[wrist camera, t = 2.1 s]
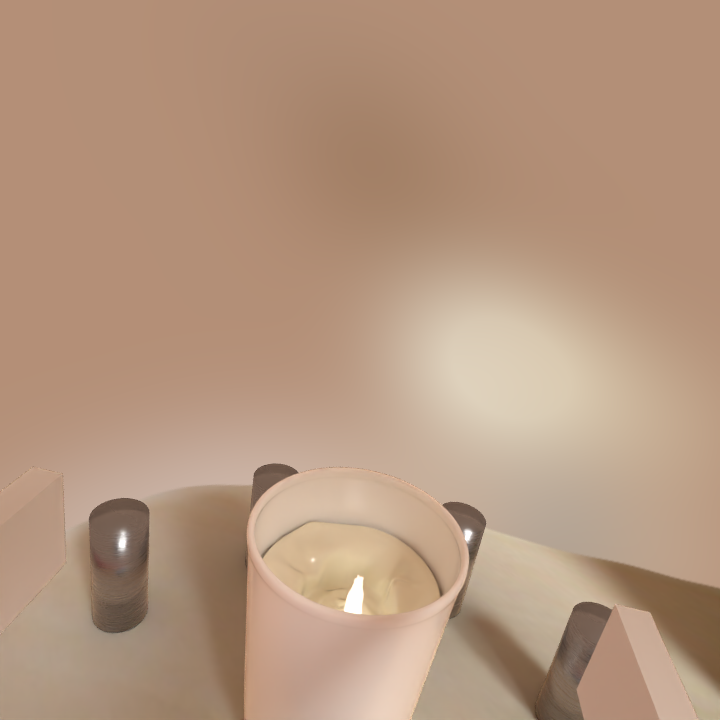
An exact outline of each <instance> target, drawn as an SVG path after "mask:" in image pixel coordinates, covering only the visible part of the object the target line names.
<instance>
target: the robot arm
mask: <svg viewBox="0 0 720 720" xmlns="http://www.w3.org/2000/svg"><path fill="white" fill-rule="evenodd" d="M65 564H66V544H65V518H64V491H63V474H62V473H58V472H54V471H50V470H45V469H41V468H37V467H32V468H30V469H29V470H28V471H26V472H25V473H24V474H23V475H21V476H20V477H19V478H17V479H16V480H15V481H14V482H12V483H11V484H9V485H8V486H7V487H6V488H4V489H3V490H2V491H0V635H1V634H2V633H3V631H4V630H5V629H6V628H7V627H8V626H9V625H10V624H11V623H12V622H13V621H14V619H15V618H16V617H17V616H18V615H19V614H20V613H21V612H22V611H23V610H24V609H25V607H26V606H27V605H28V604H29V603H30V602H31V601H32V600H33V599H34V598H35V597H36V595H37V594H38V593H39V592H40V591H41V590H42V589H43V588H44V587H45V586H46V585H47V583H48V582H49V581H50V580H51V579H52V578H53V577H54V576H55V575H56V574H57V573H58V572H59V570H60V569H61V568H62V567H63V566H64V565H65ZM577 694H578V698H579V702H580V706H581V710H582V714H583V718H584V720H699V719H698V717H697V715H696V713H695V710H694V708H693V706H692V704H691V702H690V699H689V697H688V695H687V693H686V691H685V688H684V686H683V684H682V682H681V679H680V677H679V675H678V673H677V671H676V668H675V666H674V664H673V662H672V660H671V657H670V655H669V653H668V651H667V649H666V646H665V644H664V642H663V640H662V637H661V635H660V633H659V631H658V629H657V626H656V624H655V622H654V620H653V618H652V615H651V613H650V612H647V611H643V610H639V609H634V608H630V607H626V606H622V605H618V604H615V606H614V608H613V610H612V612H611V615H610V617H609V619H608V621H607V623H606V626H605V628H604V630H603V632H602V634H601V637H600V639H599V641H598V643H597V645H596V648H595V650H594V652H593V654H592V656H591V659H590V661H589V663H588V665H587V668H586V670H585V672H584V674H583V676H582V679H581V681H580V683H579V685H578V687H577Z"/></svg>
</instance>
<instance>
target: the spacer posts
mask: <svg viewBox="0 0 720 720" xmlns="http://www.w3.org/2000/svg"><path fill="white" fill-rule="evenodd" d="M297 473H298V472H297V471H296V470H295V469H294V468H292V467H290V466H287V465H283V464H268V465H264V466H261V467H260V468H258V469H257V470H256V471H255V473H254V479H253V489H252V499H251V510H250V514H251V511H252V509H253V507H254V505H255V504H256V502H257V501H258V500H259V498H260V497H261V496H262V495H263V494H264V493H265V492H266V491H267V490H268V489H269V488H270V487H272V486H273V485H275V484H276V483H278V482H279V481H281V480H283V479H285V478H287V477H289V476H292V475H294V474H297ZM442 506H443V507H445V508H446V510H447V511H448V512H449V513H450V514H451V515H452V516H453V518H454V519H455V520H456V522H457V523H458V525H459V526H460V528H461V530H462V532H463V534H464V536H465V539H466V542H467V546H468V551H469V568H468V573H467V577H466V580H465V582H464V584H463V587H462V588H461V590H460V592H459V593H458V596H457V598H456V601H455V603H454V606H453V609H452V611H451V614H450V617H449V619H450V618H453V617H455V616H457V615H458V614H459V612H460V610H461V607H462V603H463V600H464V596H465V593H466V590H467V586H468V583H469V580H470V576H471V573H472V570H473V566H474V563H475V559H476V556H477V553H478V549H479V546H480V543H481V539H482V536H483V533H484V529H485V526H486V520H485V518H484V516H483V515H482V514H481V513H480V512H479V511H478V510H477V509H475V508H474V507H471V506H470V505H467V504H464V503H459V502H448V503H445V504H443V505H442ZM89 530H90V558H91V585H92V613H93V622H94V624H95V625H96V626H97V627H98V628H99V629H100V630H103V631H105V632H111V633H117V632H123V631H126V630H129V629H131V628H133V627H135V626H136V625H138V624H139V623H140V622H141V621H142V620H143V619H144V618H145V616H146V614H147V611H148V566H149V509H148V507H147V506H146V505H145V504H144V503H143V502H141V501H138V500H135V499H129V498H121V499H114V500H110V501H107V502H105V503H102V504H100V505H99V506H97V507H96V508H95V509H94V510H93V511H92V513H91V514H90V517H89ZM245 563H246V567H247V569H248V545H247V550H246V560H245ZM611 612H612V610H611V609H609V608H608V607H606V606H603V605H601V604H598V603H593V602H582V603H579V604H577V605H576V606H575V607H574V608H573V611H572V613H571V616H570V618H569V621H568V623H567V626H566V628H565V631H564V633H563V636H562V638H561V641H560V643H559V646H558V648H557V651H556V653H555V656H554V658H553V661H552V663H551V666H550V668H549V671H548V673H547V676H546V678H545V681H544V683H543V686H542V688H541V691H540V693H539V696H538V698H537V701H536V705H535V711H536V715H537V718H538V720H584V718H583V714H582V710H581V706H580V702H579V698H578V694H577V687H578V685H579V683H580V681H581V679H582V676H583V674H584V672H585V670H586V668H587V665H588V663H589V661H590V659H591V656H592V654H593V652H594V650H595V648H596V645H597V643H598V641H599V639H600V637H601V634H602V632H603V630H604V628H605V626H606V623H607V621H608V619H609V617H610V615H611Z"/></svg>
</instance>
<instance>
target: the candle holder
mask: <svg viewBox="0 0 720 720" xmlns="http://www.w3.org/2000/svg"><path fill="white" fill-rule="evenodd" d="M247 545H248V571H247V605H246V639H245V675H244V718H245V720H411V718H412V715H413V713H414V710H415V708H416V705H417V702H418V700H419V697H420V694H421V692H422V689H423V686H424V684H425V681H426V678H427V676H428V673H429V670H430V668H431V665H432V662H433V660H434V657H435V654H436V651H437V649H438V646H439V643H440V641H441V638H442V635H443V633H444V630H445V627H446V625H447V622H448V619H449V617H450V614H451V611H452V609H453V606H454V603H455V601H456V598H457V596H458V593H459V592H460V590H461V588H462V587H463V584H464V582H465V580H466V577H467V573H468V568H469V551H468V546H467V542H466V539H465V536H464V534H463V532H462V530H461V528H460V526H459V525H458V523H457V522H456V520H455V519H454V518H453V516H452V515H451V514H450V513H449V512H448V511H447V510H446V508H445V507H443V506H442V505H441V504H440V503H439V502H438V501H437V500H435V499H434V498H433V497H431V496H430V495H428V494H427V493H426V492H424V491H423V490H421V489H419V488H417V487H415V486H414V485H412V484H410V483H408V482H405V481H403V480H400V479H398V478H396V477H393V476H390V475H387V474H383V473H379V472H376V471H371V470H365V469H359V468H348V467H329V468H320V469H313V470H308V471H304V472H301V473H297V474H294V475H292V476H289V477H287V478H285V479H283V480H281V481H279V482H278V483H276V484H275V485H273V486H272V487H270V488H269V489H268V490H267V491H266V492H265V493H264V494H263V495H262V496H261V497H260V498H259V500H258V501H257V502H256V504H255V505H254V507H253V509H252V511H251V514H250V517H249V520H248V525H247Z"/></svg>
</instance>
